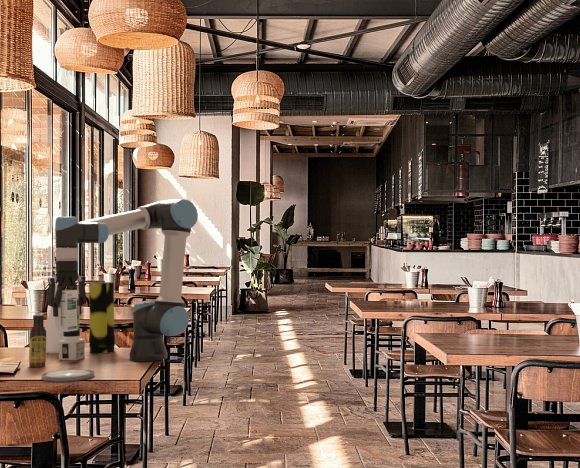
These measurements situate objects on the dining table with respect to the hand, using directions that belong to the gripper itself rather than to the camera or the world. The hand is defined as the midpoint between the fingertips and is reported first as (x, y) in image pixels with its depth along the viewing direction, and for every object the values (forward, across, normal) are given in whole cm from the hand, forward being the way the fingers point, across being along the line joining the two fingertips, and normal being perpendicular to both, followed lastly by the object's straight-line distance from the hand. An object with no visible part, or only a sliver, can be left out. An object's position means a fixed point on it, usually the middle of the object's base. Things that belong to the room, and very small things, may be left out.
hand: (67, 325), depth 270 cm
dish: (+18, 0, 0) cm, 18 cm away
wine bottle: (+19, -28, -60) cm, 69 cm away
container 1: (+19, -23, -38) cm, 48 cm away
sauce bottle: (+19, -4, -31) cm, 37 cm away
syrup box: (+2, 0, 0) cm, 2 cm away
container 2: (+19, -41, -45) cm, 64 cm away
